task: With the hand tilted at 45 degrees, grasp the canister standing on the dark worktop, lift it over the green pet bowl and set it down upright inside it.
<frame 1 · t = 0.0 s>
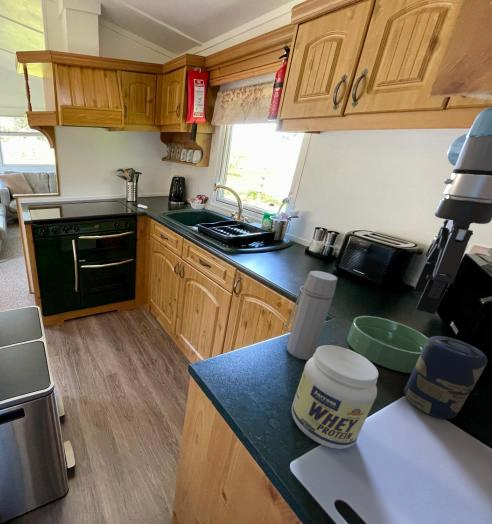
hand: (423, 300, 61), 27 cm above the countertop, tool pointing down, fingers open, 13 cm apart
water bottle: (296, 352, 86), on the countertop
supplement tub: (320, 425, 62), on the countertop
canister: (426, 405, 69), on the countertop
green pet bowl: (383, 352, 88), on the countertop
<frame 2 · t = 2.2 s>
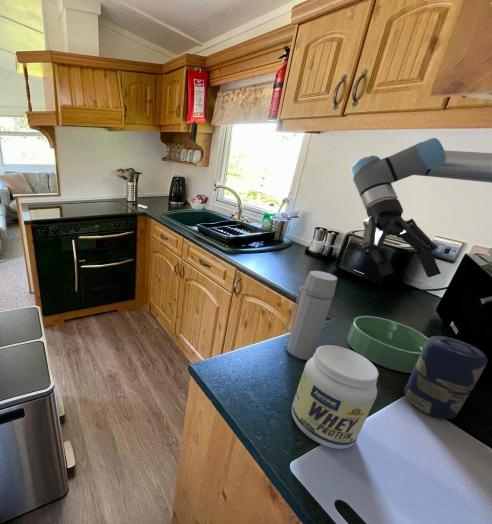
hand: (411, 275, 74), 28 cm above the countertop, tool tilted 45°, fingers open, 13 cm apart
nothing on the countertop moved.
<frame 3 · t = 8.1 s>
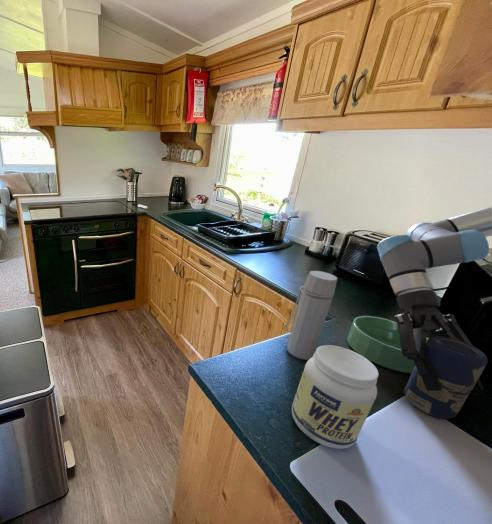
hand: (455, 390, 64), 8 cm above the countertop, tool tilted 45°, fingers closed on canister, 10 cm apart
canister: (426, 405, 69), on the countertop, touching gripper
everything else where it was.
when the fingers open (8 cm above the countertop, at t = 19.2 s): canister stays where it is, resting on green pet bowl.
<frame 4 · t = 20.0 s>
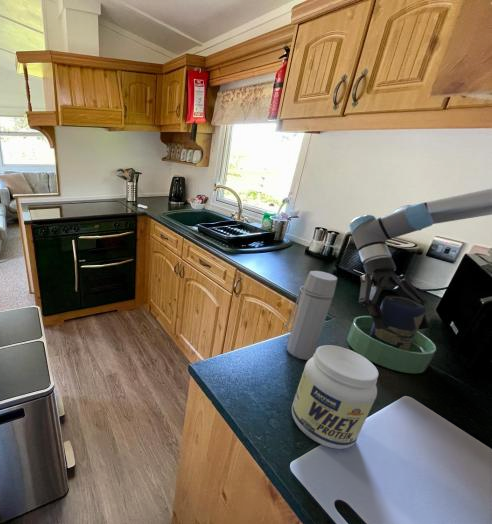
hand: (403, 328, 83), 10 cm above the countertop, tool tilted 45°, fingers open, 13 cm apart
canister: (383, 351, 88), resting on green pet bowl
everything else where it was.
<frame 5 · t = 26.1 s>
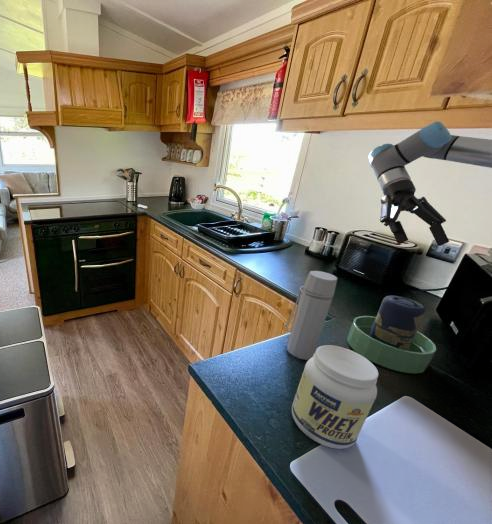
hand: (423, 243, 86), 33 cm above the countertop, tool tilted 45°, fingers open, 13 cm apart
nothing on the countertop moved.
at the end: canister inside the target area in the green pet bowl (0.1 cm from its centre), point 0.3 cm above the green pet bowl's base; canister tilted 0°; the gripper is holding nothing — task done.
